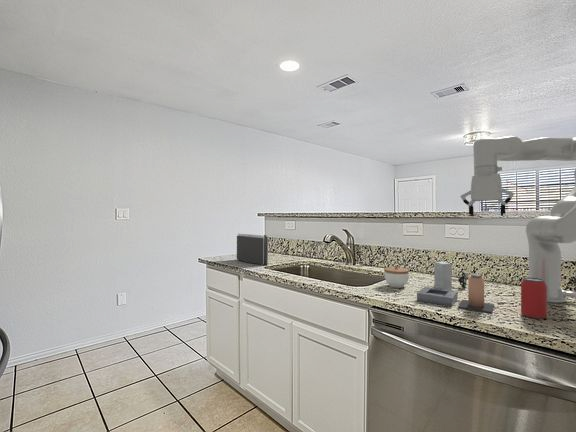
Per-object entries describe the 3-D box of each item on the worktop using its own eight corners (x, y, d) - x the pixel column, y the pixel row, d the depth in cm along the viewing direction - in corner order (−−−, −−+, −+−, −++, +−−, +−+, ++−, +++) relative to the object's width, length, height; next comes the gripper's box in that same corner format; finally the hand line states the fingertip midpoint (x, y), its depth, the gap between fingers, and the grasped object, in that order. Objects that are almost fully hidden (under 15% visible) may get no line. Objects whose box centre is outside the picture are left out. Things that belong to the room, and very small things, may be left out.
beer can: (525, 318, 98) (525, 280, 98) (518, 311, 104) (518, 276, 104) (550, 320, 96) (550, 282, 96) (542, 313, 102) (541, 277, 102)
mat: (494, 306, 111) (494, 304, 111) (491, 313, 103) (491, 311, 103) (462, 301, 117) (462, 299, 117) (457, 308, 109) (457, 306, 109)
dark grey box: (233, 260, 221) (233, 233, 221) (257, 257, 236) (257, 231, 236) (264, 266, 196) (264, 235, 196) (289, 262, 211) (289, 234, 211)
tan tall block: (484, 304, 110) (484, 274, 110) (483, 308, 106) (483, 277, 106) (469, 302, 113) (469, 273, 113) (467, 305, 109) (467, 275, 109)
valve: (434, 285, 142) (463, 289, 134) (434, 271, 142) (463, 274, 134) (438, 282, 147) (467, 286, 139) (438, 269, 147) (466, 272, 139)
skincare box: (452, 292, 130) (452, 263, 130) (443, 292, 129) (443, 264, 129) (442, 288, 136) (442, 261, 136) (433, 289, 135) (433, 261, 135)
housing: (457, 298, 120) (457, 290, 120) (452, 306, 111) (452, 298, 111) (424, 293, 127) (424, 286, 127) (416, 300, 118) (416, 293, 118)
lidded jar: (391, 282, 149) (390, 262, 149) (413, 286, 141) (413, 265, 141) (379, 286, 141) (379, 265, 141) (402, 290, 134) (402, 268, 133)
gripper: (513, 169, 117) (514, 215, 117) (461, 174, 127) (462, 216, 127) (513, 168, 111) (514, 215, 111) (458, 173, 121) (460, 216, 121)
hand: (486, 216), depth 119 cm, fingers open, 9 cm apart
